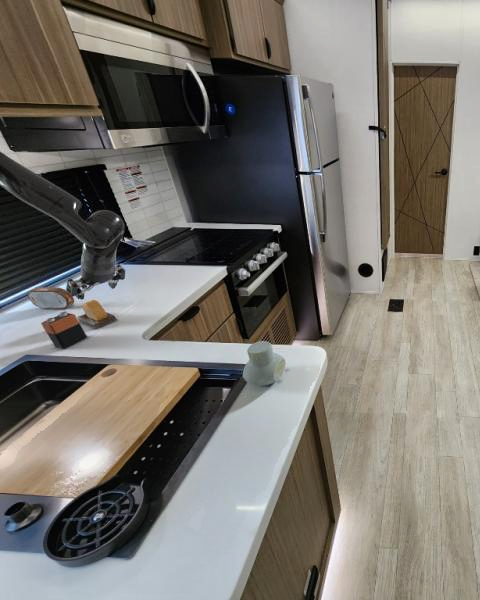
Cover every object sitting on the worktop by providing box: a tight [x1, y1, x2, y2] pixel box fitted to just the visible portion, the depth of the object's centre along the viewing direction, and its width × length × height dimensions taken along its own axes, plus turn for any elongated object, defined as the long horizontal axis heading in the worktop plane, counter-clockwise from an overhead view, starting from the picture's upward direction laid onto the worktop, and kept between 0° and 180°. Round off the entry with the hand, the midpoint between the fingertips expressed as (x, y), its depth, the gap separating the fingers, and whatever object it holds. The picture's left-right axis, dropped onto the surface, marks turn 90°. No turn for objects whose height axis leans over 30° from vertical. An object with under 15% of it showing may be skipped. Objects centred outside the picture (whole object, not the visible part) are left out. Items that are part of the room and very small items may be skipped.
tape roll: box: [81, 299, 107, 322], centre depth 115 cm, size 3×8×8 cm, turn 63°
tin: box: [26, 286, 75, 310], centre depth 125 cm, size 15×3×8 cm, turn 88°
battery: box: [40, 311, 88, 350], centre depth 103 cm, size 4×7×10 cm, turn 163°
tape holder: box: [76, 311, 118, 330], centre depth 117 cm, size 6×12×2 cm, turn 63°
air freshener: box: [242, 340, 286, 387], centre depth 86 cm, size 11×8×10 cm
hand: (96, 291), depth 106 cm, fingers open, 8 cm apart
